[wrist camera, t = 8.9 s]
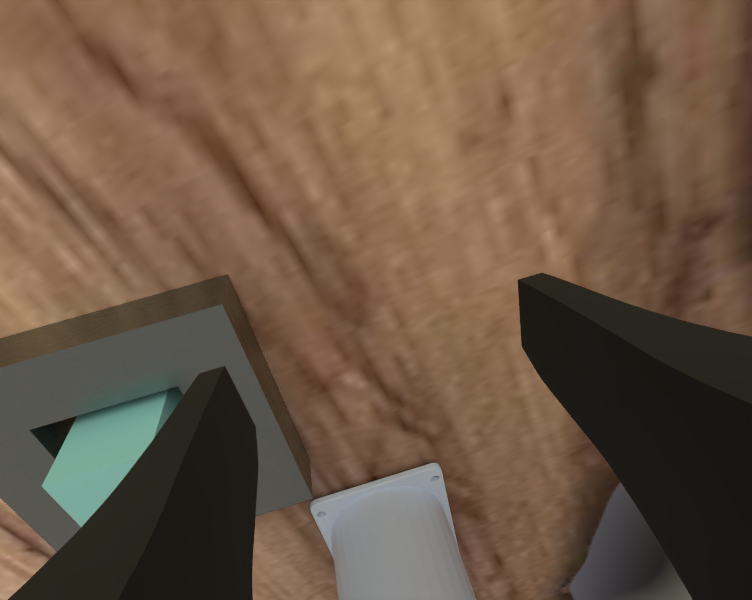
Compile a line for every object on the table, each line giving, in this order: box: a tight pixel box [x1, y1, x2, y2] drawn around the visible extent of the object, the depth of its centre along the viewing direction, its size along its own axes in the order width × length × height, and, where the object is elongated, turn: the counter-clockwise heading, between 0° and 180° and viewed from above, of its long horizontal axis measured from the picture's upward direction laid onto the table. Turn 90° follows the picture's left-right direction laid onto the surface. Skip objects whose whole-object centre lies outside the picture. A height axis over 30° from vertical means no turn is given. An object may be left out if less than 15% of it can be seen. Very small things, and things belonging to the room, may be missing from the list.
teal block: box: [42, 386, 183, 527], centre depth 20 cm, size 4×4×5 cm
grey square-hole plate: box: [0, 275, 313, 552], centre depth 21 cm, size 12×12×2 cm
